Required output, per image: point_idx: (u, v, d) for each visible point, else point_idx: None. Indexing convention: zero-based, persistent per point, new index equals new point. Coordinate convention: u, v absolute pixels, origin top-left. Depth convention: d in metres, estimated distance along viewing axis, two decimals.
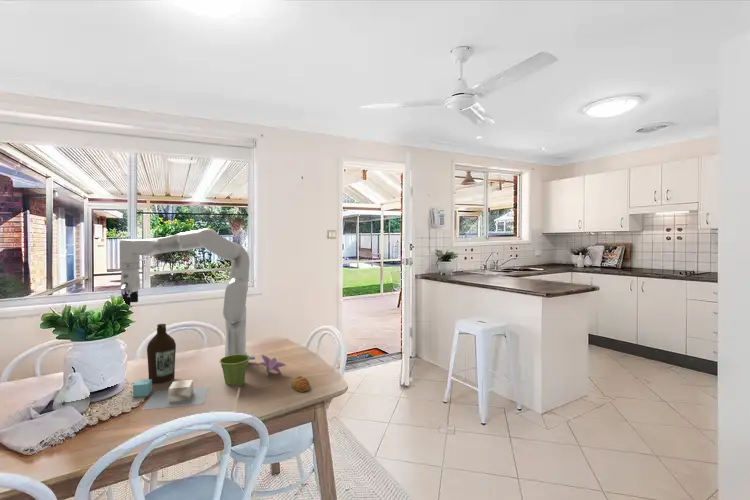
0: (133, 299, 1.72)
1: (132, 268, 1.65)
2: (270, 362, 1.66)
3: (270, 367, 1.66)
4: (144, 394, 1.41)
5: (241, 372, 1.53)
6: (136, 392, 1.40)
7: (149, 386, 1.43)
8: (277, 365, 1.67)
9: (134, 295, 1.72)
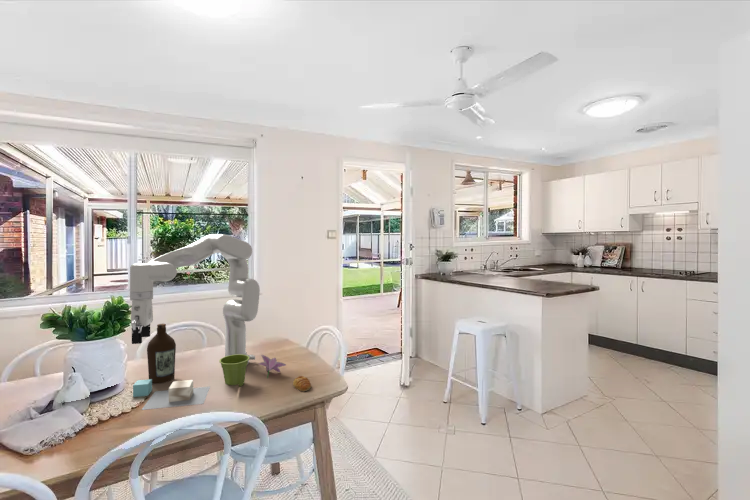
0: (144, 333, 1.46)
1: (145, 298, 1.39)
2: (270, 362, 1.66)
3: (270, 367, 1.66)
4: (144, 394, 1.41)
5: (241, 372, 1.53)
6: (136, 392, 1.40)
7: (149, 386, 1.43)
8: (277, 365, 1.68)
9: (146, 329, 1.46)
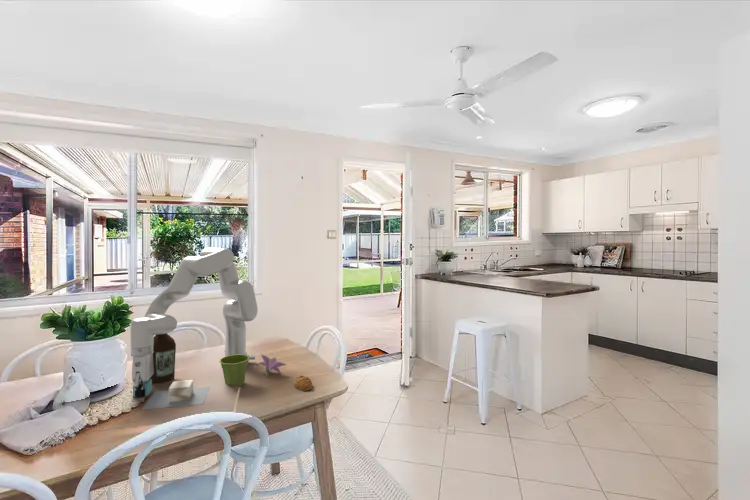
0: None
1: (145, 353, 1.40)
2: (270, 362, 1.66)
3: (270, 367, 1.66)
4: None
5: (241, 372, 1.53)
6: None
7: (149, 386, 1.43)
8: (277, 365, 1.68)
9: None
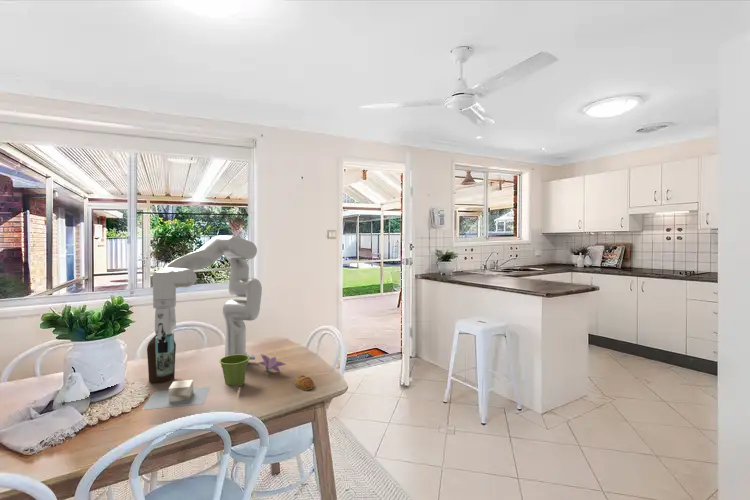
0: None
1: (168, 306, 1.37)
2: (270, 361, 1.67)
3: (270, 366, 1.67)
4: None
5: (241, 372, 1.53)
6: None
7: (171, 340, 1.40)
8: (277, 364, 1.68)
9: None
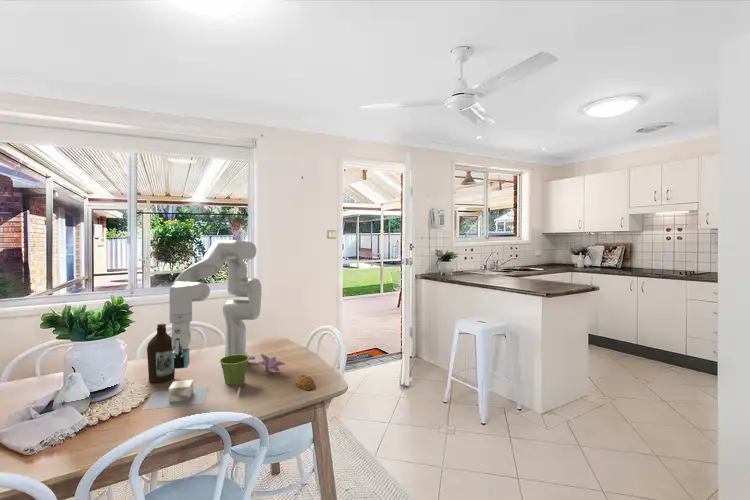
0: None
1: (185, 320, 1.37)
2: (270, 361, 1.67)
3: (270, 366, 1.67)
4: None
5: (241, 372, 1.53)
6: None
7: (187, 355, 1.39)
8: (276, 364, 1.69)
9: None
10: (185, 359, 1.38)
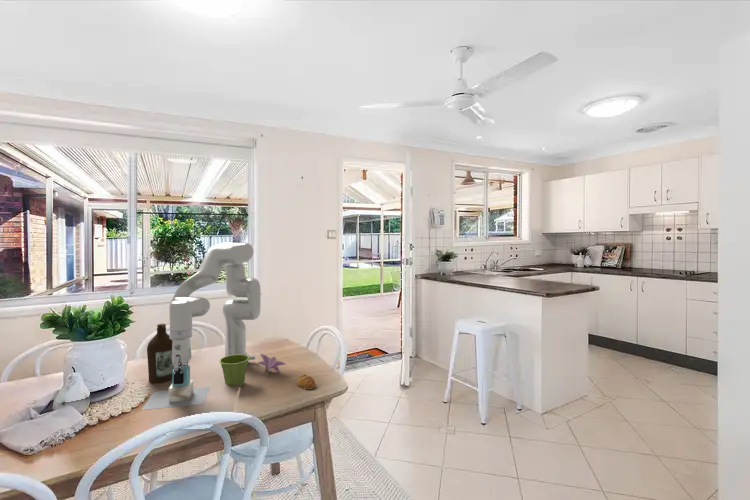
0: None
1: (185, 336, 1.37)
2: (269, 361, 1.67)
3: (269, 366, 1.67)
4: None
5: (241, 372, 1.53)
6: None
7: (188, 373, 1.40)
8: (276, 364, 1.69)
9: None
10: (185, 377, 1.38)
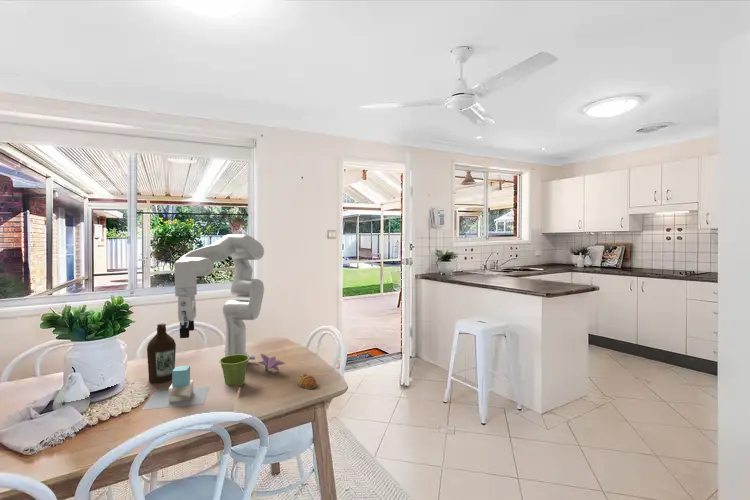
0: (189, 327, 1.50)
1: (190, 294, 1.42)
2: (269, 361, 1.67)
3: (269, 366, 1.68)
4: (183, 380, 1.38)
5: (241, 372, 1.53)
6: (175, 379, 1.37)
7: (188, 373, 1.40)
8: (276, 363, 1.69)
9: (190, 323, 1.50)
10: (185, 377, 1.38)
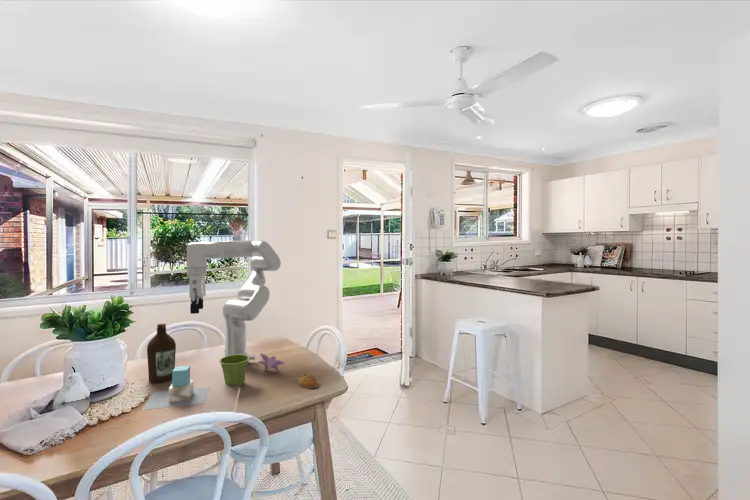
0: (198, 306, 1.63)
1: (200, 273, 1.56)
2: (269, 360, 1.68)
3: (269, 365, 1.68)
4: (183, 380, 1.38)
5: (241, 372, 1.53)
6: (175, 379, 1.37)
7: (188, 373, 1.40)
8: (276, 363, 1.70)
9: (199, 301, 1.63)
10: (185, 377, 1.38)
